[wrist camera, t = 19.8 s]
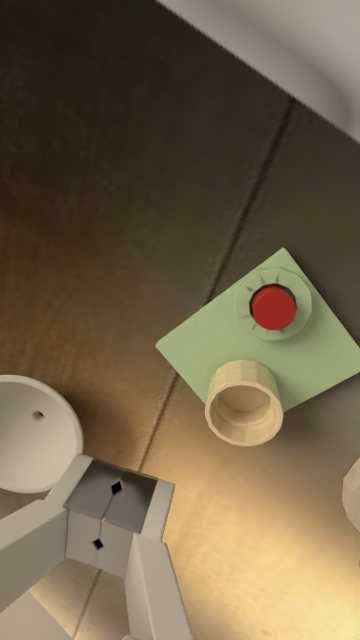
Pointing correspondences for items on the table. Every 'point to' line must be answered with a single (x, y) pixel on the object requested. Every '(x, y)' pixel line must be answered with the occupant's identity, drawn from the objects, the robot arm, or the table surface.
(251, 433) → the beige cup
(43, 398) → the dish
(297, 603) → the table surface
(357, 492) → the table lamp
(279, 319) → the button
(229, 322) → the green base plate
